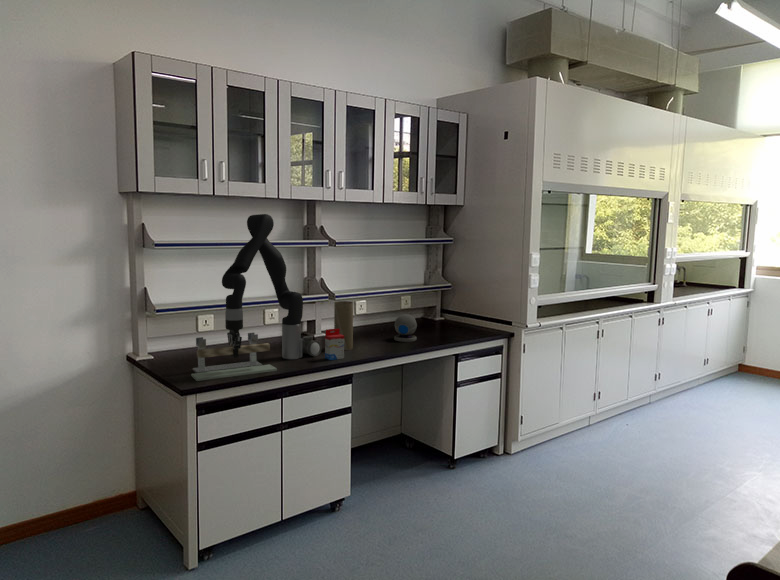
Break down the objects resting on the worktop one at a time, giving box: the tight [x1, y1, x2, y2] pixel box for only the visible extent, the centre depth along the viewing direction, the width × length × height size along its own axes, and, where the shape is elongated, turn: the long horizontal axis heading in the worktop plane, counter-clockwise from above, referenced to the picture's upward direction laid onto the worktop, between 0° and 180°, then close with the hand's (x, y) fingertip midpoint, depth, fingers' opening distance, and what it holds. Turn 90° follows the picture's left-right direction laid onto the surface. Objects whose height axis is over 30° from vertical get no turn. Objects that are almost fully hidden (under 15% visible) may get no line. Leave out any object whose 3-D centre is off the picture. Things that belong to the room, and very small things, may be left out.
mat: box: [190, 364, 278, 382], centre depth 262 cm, size 36×9×1 cm, turn 122°
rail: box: [196, 342, 271, 359], centre depth 261 cm, size 32×3×3 cm, turn 122°
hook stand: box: [192, 332, 263, 374], centre depth 270 cm, size 30×8×15 cm, turn 122°
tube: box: [333, 300, 354, 351], centre depth 316 cm, size 10×10×25 cm
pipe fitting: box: [302, 334, 322, 357], centre depth 301 cm, size 12×8×10 cm
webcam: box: [393, 313, 418, 343], centre depth 343 cm, size 13×13×15 cm
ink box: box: [324, 328, 345, 361], centre depth 293 cm, size 8×5×15 cm, turn 126°
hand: (234, 356), depth 261 cm, fingers closed on rail, 3 cm apart
